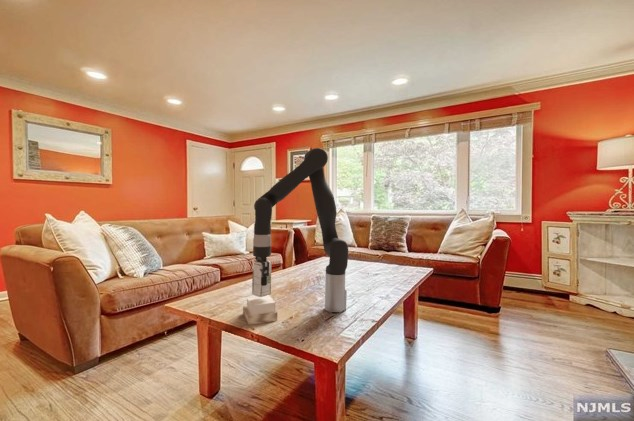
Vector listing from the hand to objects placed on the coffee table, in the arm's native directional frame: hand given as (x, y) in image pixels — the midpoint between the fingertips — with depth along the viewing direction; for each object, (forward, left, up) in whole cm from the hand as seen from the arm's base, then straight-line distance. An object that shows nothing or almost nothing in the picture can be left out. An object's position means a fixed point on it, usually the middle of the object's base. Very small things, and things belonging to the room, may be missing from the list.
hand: (261, 282), depth 121 cm
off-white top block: (0, 0, -11) cm, 11 cm away
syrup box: (0, 0, -5) cm, 5 cm away
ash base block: (+1, 0, -15) cm, 15 cm away
